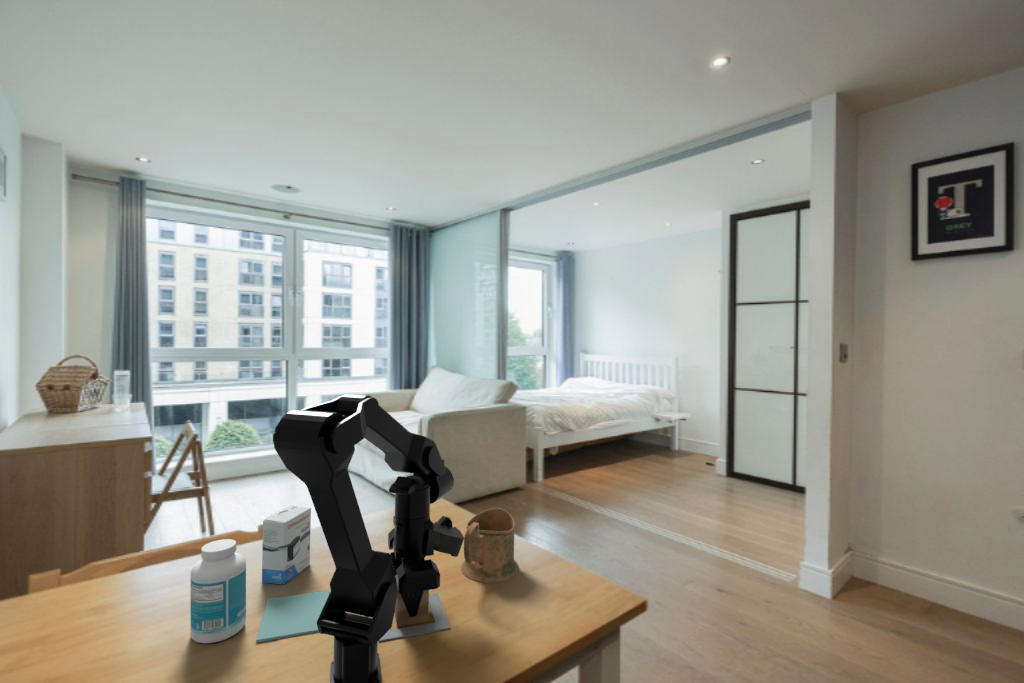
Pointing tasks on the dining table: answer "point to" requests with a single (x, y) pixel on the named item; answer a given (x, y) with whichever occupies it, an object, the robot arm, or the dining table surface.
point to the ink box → (286, 544)
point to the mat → (291, 616)
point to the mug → (490, 547)
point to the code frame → (439, 625)
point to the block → (402, 613)
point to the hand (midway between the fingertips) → (410, 607)
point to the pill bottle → (218, 592)
